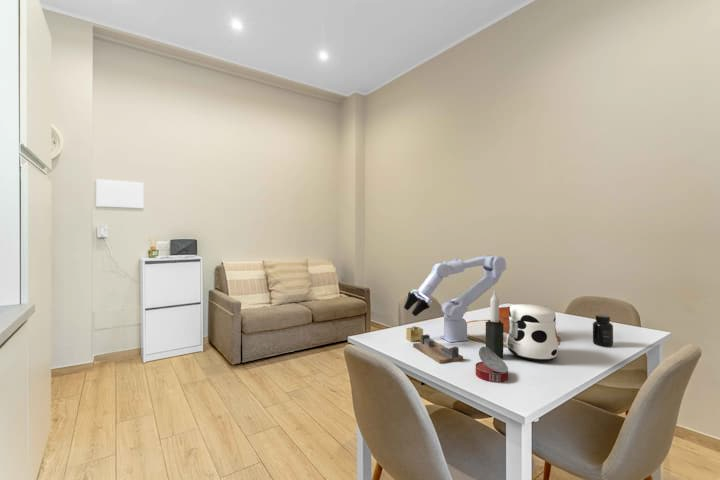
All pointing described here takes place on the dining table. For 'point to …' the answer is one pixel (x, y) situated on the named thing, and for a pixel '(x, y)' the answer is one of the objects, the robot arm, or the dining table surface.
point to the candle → (494, 328)
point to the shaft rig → (437, 350)
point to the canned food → (491, 367)
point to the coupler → (414, 334)
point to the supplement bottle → (603, 331)
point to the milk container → (532, 332)
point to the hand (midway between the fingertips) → (409, 311)
